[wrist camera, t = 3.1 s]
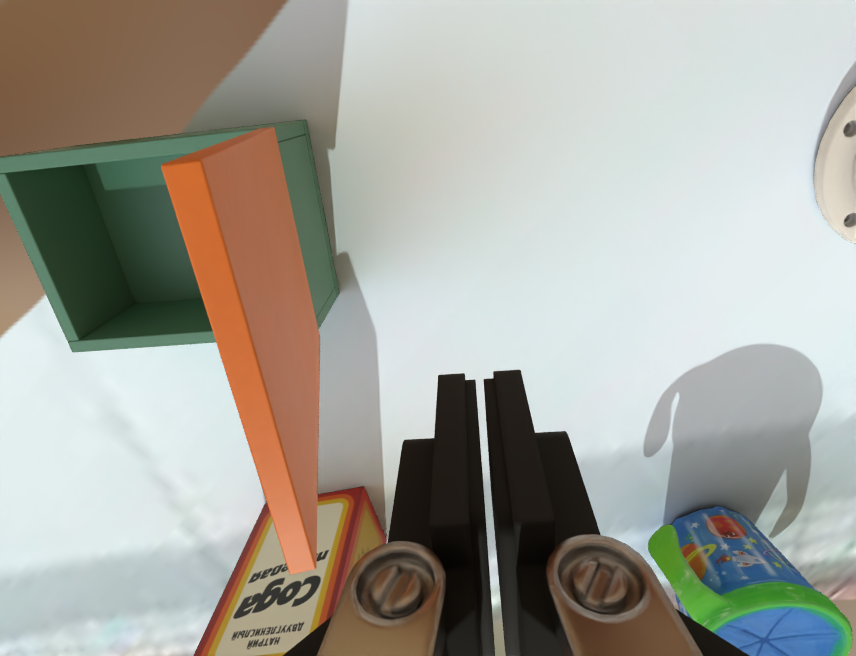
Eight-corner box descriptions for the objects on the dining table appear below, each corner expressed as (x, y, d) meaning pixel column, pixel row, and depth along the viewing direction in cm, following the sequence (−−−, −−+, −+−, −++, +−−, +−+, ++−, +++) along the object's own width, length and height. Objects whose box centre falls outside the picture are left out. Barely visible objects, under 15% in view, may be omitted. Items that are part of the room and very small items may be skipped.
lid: (289, 576, 15) (316, 569, 15) (159, 164, 10) (201, 159, 10) (306, 340, 29) (320, 338, 30) (257, 128, 25) (274, 126, 25)
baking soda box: (363, 486, 44) (316, 682, 29) (386, 539, 46) (353, 744, 32) (264, 504, 45) (173, 698, 31) (292, 554, 48) (219, 756, 33)
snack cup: (813, 548, 44) (907, 669, 35) (710, 606, 48) (771, 729, 38) (699, 451, 40) (771, 558, 31) (598, 522, 44) (635, 636, 35)
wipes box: (135, 309, 38) (72, 353, 31) (72, 145, 33) (-17, 159, 26) (339, 293, 36) (315, 335, 30) (306, 119, 31) (269, 127, 25)
